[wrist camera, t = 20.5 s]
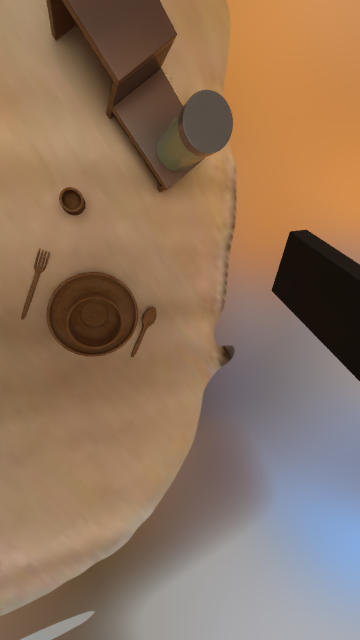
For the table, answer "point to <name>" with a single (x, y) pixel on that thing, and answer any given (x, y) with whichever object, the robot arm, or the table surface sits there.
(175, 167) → the spice jar
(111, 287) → the place setting
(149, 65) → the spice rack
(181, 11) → the table surface
